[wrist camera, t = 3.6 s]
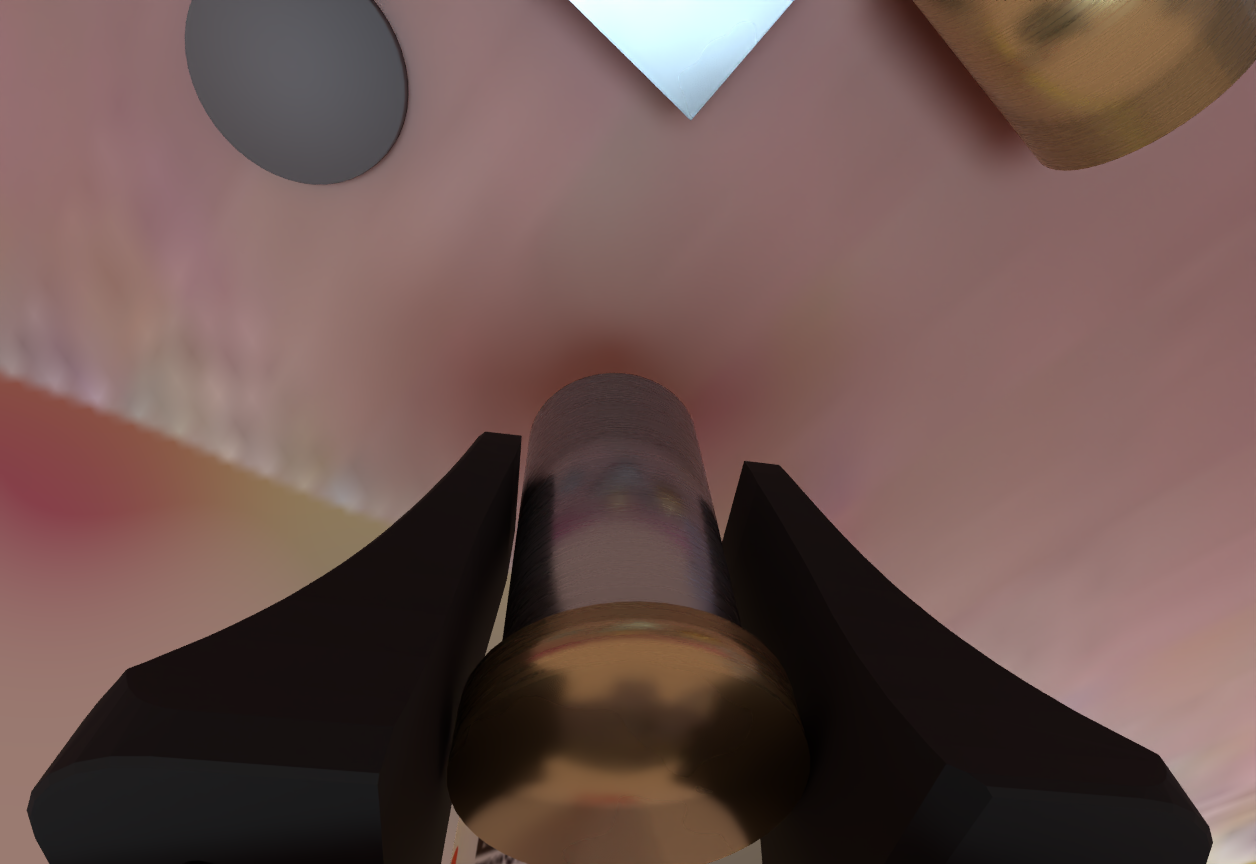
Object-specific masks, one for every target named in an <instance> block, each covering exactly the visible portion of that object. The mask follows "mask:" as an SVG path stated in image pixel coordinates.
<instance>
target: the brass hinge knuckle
mask: <svg viewBox="0 0 1256 864" xmlns="http://www.w3.org/2000/svg"><path fill="white" fill-rule="evenodd" d="M570 1H571V2H572V3H573V4H574V5H575V6H576V7H577V8H578V9H579V10H580V11H581V12H582V13H583V14H584V15H585V16H586V17H587V18H588V19H589V20H590V21H591V22H592V23H593V24H594V25H595V26H596V27H597V28H598V29H599V30H600V31H601V32H602V33H603V34H604V35H605V36H606V37H607V38H608V39H609V40H610V41H611V42H612V43H613V44H614V45H615V46H616V47H617V48H618V49H619V50H620V51H621V52H622V53H623V54H624V55H625V56H626V57H627V58H628V59H629V60H630V61H631V62H632V63H633V64H634V65H635V66H636V67H637V68H638V69H639V70H640V71H641V72H642V73H643V74H644V75H645V76H646V77H647V78H648V79H649V80H650V81H651V82H652V83H653V84H654V85H656V86H657V87H658V88H659V89H660V90H661V91H662V92H663V93H664V94H665V95H666V96H667V97H668V98H669V99H670V100H671V101H672V102H673V103H674V104H675V105H676V106H677V107H678V108H679V109H680V110H681V111H682V112H683V113H684V114H685V115H686V116H687V117H688V118H689V119H690V120H692V119H693V117H694V116H695V115H696V114H697V113H698V112H699V110H700V109H701V108H702V107H703V106H704V105H705V103H706V102H707V101H708V100H709V99H710V98H711V96H712V95H713V94H714V93H715V92H716V91H717V89H718V88H719V87H720V86H721V85H722V84H723V82H724V81H725V80H726V79H727V78H728V76H729V75H730V74H731V73H732V72H733V71H734V69H735V68H736V67H737V66H738V65H739V64H740V62H741V61H742V60H743V59H744V58H745V57H746V55H747V54H748V53H749V52H750V51H751V50H752V48H753V47H754V46H755V45H756V44H757V43H758V41H759V40H760V39H761V38H762V37H763V36H764V34H765V33H766V32H767V31H768V30H769V29H770V27H771V26H772V25H773V24H774V23H775V22H776V20H777V19H778V18H779V17H780V16H781V15H782V13H783V12H784V11H785V10H786V9H787V8H788V6H789V5H790V4H791V3H792V2H793V1H794V0H570Z"/></svg>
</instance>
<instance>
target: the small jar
mask: <svg viewBox="0 0 1256 864" xmlns="http://www.w3.org/2000/svg"><path fill="white" fill-rule="evenodd" d="M809 773H810V753H809V748H808V743H807V739H806V736H805V732H804V729H803V725H802V722H801V718H800V715H799V711H798V708H797V704H796V701H795V698H794V694H793V691H792V687H791V684H790V680H789V678H788V676H787V673H786V671H785V669H784V667H783V665H782V664H781V662H780V661H779V659H778V658H777V657H776V655H775V654H774V653H773V652H772V651H771V650H770V649H769V648H768V647H767V646H766V645H765V644H764V643H763V642H762V641H761V640H760V639H758V638H757V637H756V636H754V635H753V634H752V633H750V632H749V631H748V630H746V629H744V628H742V626H741V621H740V617H739V613H738V609H737V605H736V600H735V596H734V592H733V588H732V583H731V579H730V575H729V571H728V567H727V562H726V558H725V554H724V550H723V545H722V541H721V537H720V533H719V529H718V524H717V520H716V516H715V512H714V507H713V503H712V499H711V495H710V491H709V486H708V482H707V478H706V474H705V469H704V465H703V461H702V457H701V452H700V448H699V444H698V440H697V436H696V431H695V427H694V423H693V421H692V419H691V416H690V414H689V412H688V411H687V409H686V407H685V406H684V405H683V404H682V402H681V401H680V400H679V399H678V398H677V397H676V396H675V395H674V394H673V393H672V392H671V391H669V390H668V389H666V388H665V387H663V386H662V385H660V384H658V383H656V382H654V381H652V380H649V379H646V378H643V377H640V376H635V375H631V374H622V373H606V374H598V375H593V376H589V377H585V378H582V379H580V380H577V381H574V382H572V383H571V384H569V385H567V386H565V387H563V388H562V389H560V390H559V391H558V392H556V393H555V394H554V395H553V396H552V397H551V398H550V399H548V400H547V402H546V403H545V404H544V405H543V407H542V408H541V409H540V411H539V412H538V414H537V416H536V418H535V420H534V423H533V425H532V429H531V433H530V438H529V446H528V453H527V461H526V468H525V476H524V483H523V491H522V498H521V506H520V513H519V521H518V528H517V536H516V543H515V550H514V558H513V565H512V573H511V580H510V588H509V596H508V603H507V611H506V618H505V626H504V633H503V640H502V642H500V643H499V644H498V645H497V646H495V647H494V648H493V649H491V650H490V651H489V653H487V655H486V656H485V657H484V658H483V659H482V660H481V661H480V662H479V663H478V664H477V666H476V667H475V669H474V670H473V671H472V673H471V674H470V676H469V677H468V679H467V682H466V684H465V686H464V688H463V691H462V694H461V698H460V702H459V707H458V712H457V718H456V723H455V729H454V734H453V740H452V745H451V751H450V756H449V762H448V767H447V788H448V792H449V797H450V800H451V802H452V804H453V806H454V809H455V811H456V812H457V814H458V815H459V817H460V818H461V820H462V821H463V822H464V824H465V825H466V826H467V827H468V828H469V829H470V830H471V831H472V832H473V833H474V834H475V835H476V836H478V837H479V838H480V839H482V840H483V841H484V842H485V843H487V844H488V845H490V846H491V847H493V848H495V849H496V850H498V851H500V852H502V853H503V854H505V855H508V856H510V857H512V858H514V859H517V860H519V861H521V862H524V863H527V864H707V863H710V862H713V861H716V860H719V859H721V858H723V857H726V856H728V855H731V854H733V853H735V852H737V851H739V850H741V849H743V848H745V847H747V846H749V845H750V844H752V843H754V842H755V841H757V840H758V839H760V838H761V837H763V836H764V835H766V834H768V833H769V832H770V831H771V830H772V829H774V828H775V827H776V826H777V825H778V824H780V823H781V822H782V821H783V820H784V818H785V817H786V816H787V815H788V814H789V813H790V812H791V811H792V810H793V808H794V807H795V805H796V804H797V802H798V801H799V799H800V798H801V796H802V794H803V791H804V789H805V787H806V785H807V781H808V777H809Z"/></svg>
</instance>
